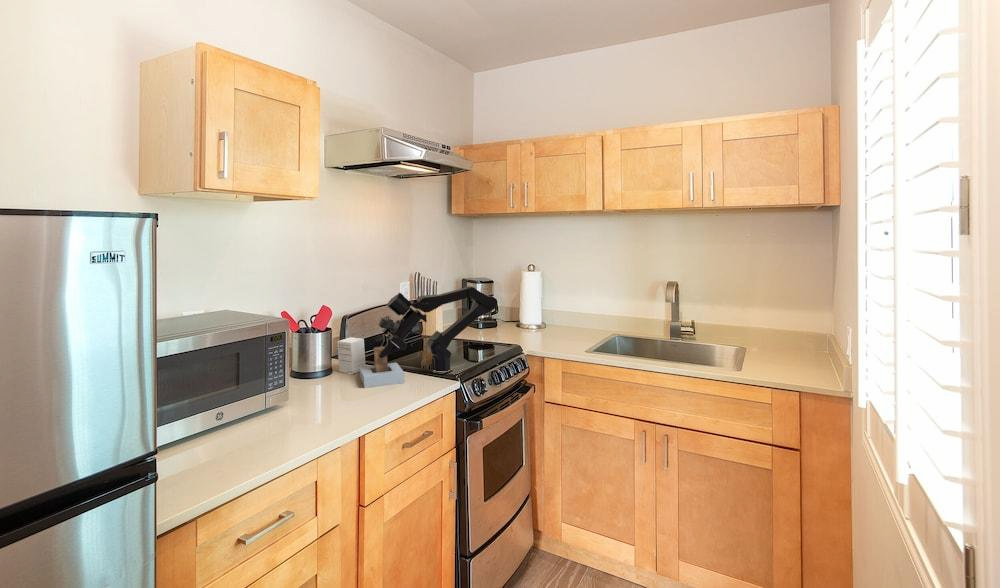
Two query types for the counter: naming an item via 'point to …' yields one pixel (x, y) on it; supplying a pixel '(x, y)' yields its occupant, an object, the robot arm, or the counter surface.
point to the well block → (381, 376)
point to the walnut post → (380, 360)
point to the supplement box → (351, 355)
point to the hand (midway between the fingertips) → (378, 355)
